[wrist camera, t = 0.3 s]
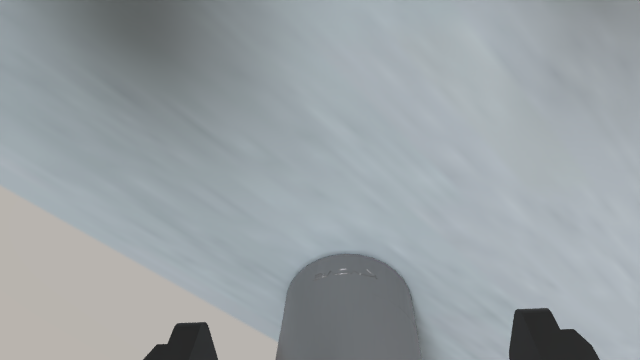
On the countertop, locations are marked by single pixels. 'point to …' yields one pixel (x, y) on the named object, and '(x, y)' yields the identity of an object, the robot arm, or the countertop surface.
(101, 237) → the countertop surface
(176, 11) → the countertop surface
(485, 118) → the countertop surface
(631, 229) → the countertop surface
